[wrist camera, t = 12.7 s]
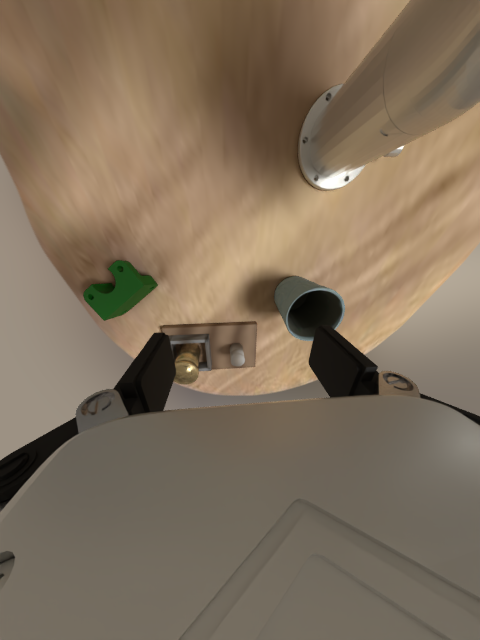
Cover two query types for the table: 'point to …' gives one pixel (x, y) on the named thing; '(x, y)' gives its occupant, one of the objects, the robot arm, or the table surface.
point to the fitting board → (217, 343)
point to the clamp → (119, 291)
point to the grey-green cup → (307, 306)
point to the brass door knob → (187, 363)
